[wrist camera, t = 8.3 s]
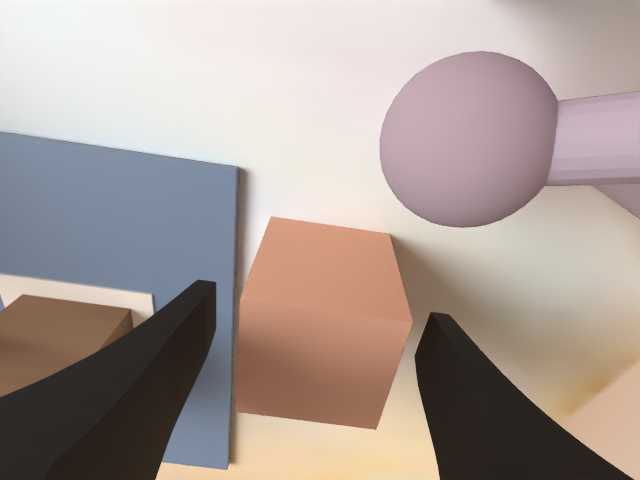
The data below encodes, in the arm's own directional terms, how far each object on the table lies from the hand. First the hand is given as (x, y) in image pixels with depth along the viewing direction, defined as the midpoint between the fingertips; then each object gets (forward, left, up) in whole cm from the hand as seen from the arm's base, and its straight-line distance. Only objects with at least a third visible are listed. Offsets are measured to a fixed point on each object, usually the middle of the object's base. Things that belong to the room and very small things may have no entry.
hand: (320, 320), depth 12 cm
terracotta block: (0, 0, -3) cm, 3 cm away
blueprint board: (-5, +10, -3) cm, 12 cm away
